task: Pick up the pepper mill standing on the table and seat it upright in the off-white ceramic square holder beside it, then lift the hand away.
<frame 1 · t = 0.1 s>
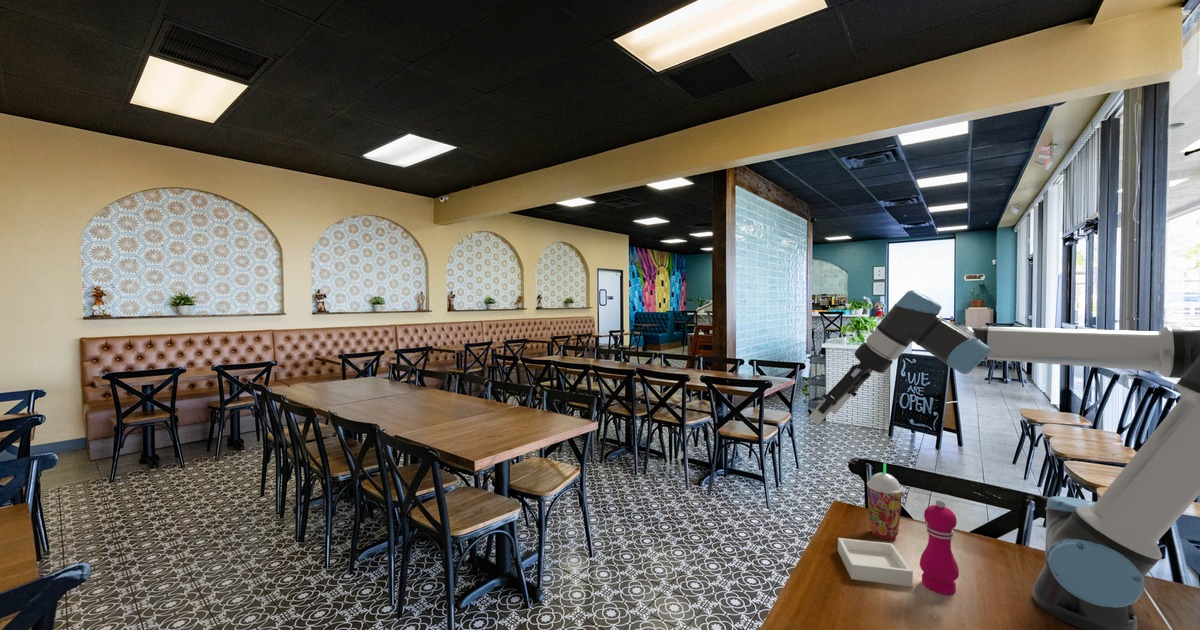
hand: (822, 415, 119), 36 cm above the table, tool tilted 35°, fingers open, 13 cm apart
smoothie: (883, 536, 131), on the table
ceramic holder: (872, 567, 115), on the table
pepper mill: (938, 587, 107), on the table
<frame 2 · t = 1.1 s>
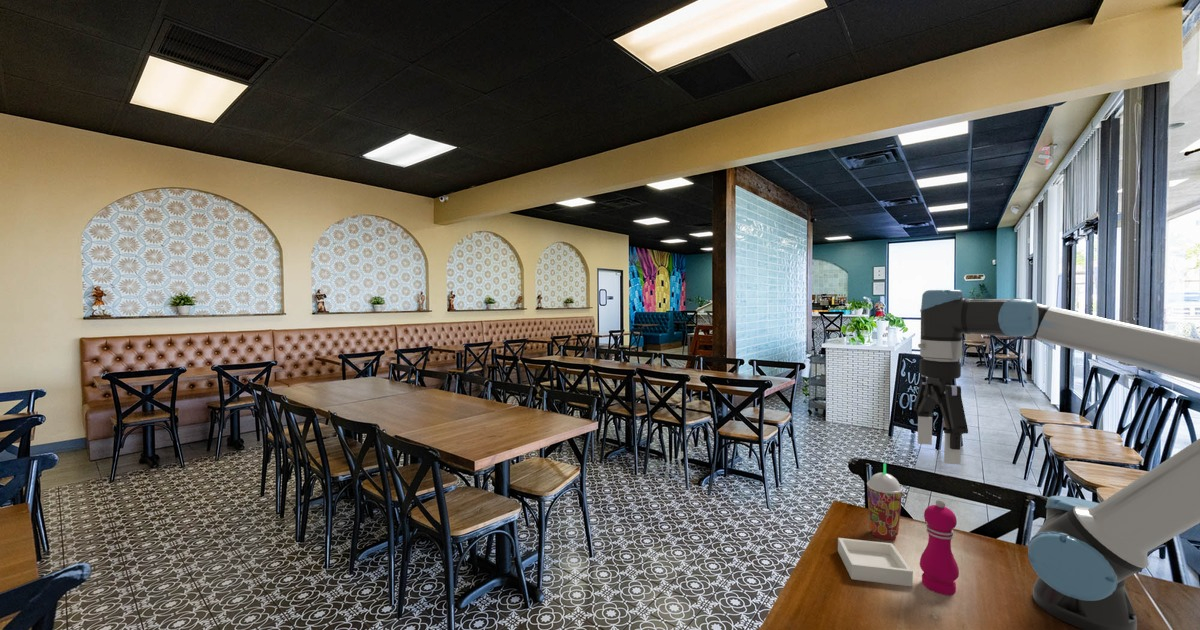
hand: (937, 453, 107), 30 cm above the table, tool pointing down, fingers open, 13 cm apart
nothing on the table moved.
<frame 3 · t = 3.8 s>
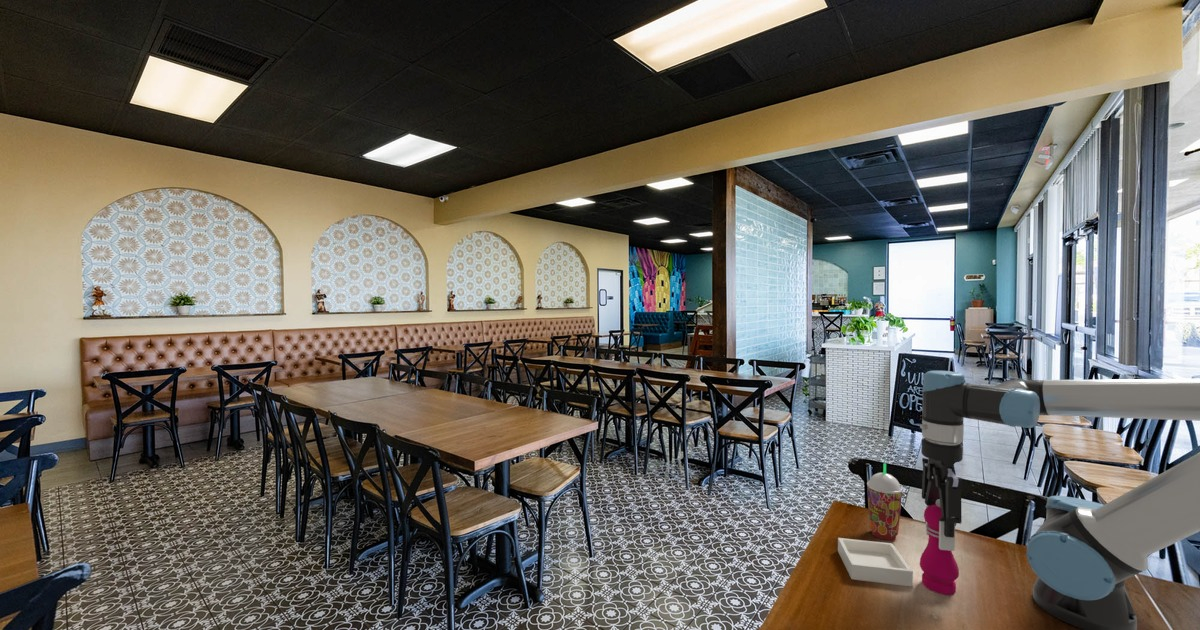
hand: (939, 541, 107), 10 cm above the table, tool pointing down, fingers closed on pepper mill, 6 cm apart
pepper mill: (938, 587, 107), on the table, touching gripper
everything else where it was.
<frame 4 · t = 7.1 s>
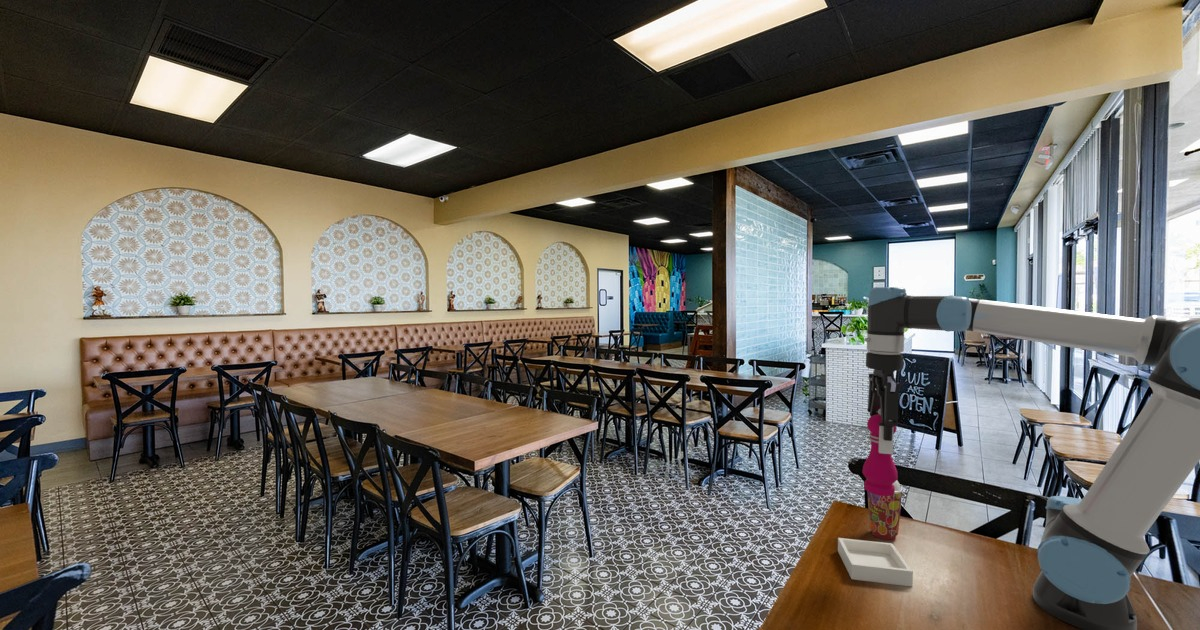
hand: (880, 448, 113), 29 cm above the table, tool pointing down, fingers closed on pepper mill, 6 cm apart
pepper mill: (879, 491, 114), point 19 cm above the table, touching gripper
everything else where it was.
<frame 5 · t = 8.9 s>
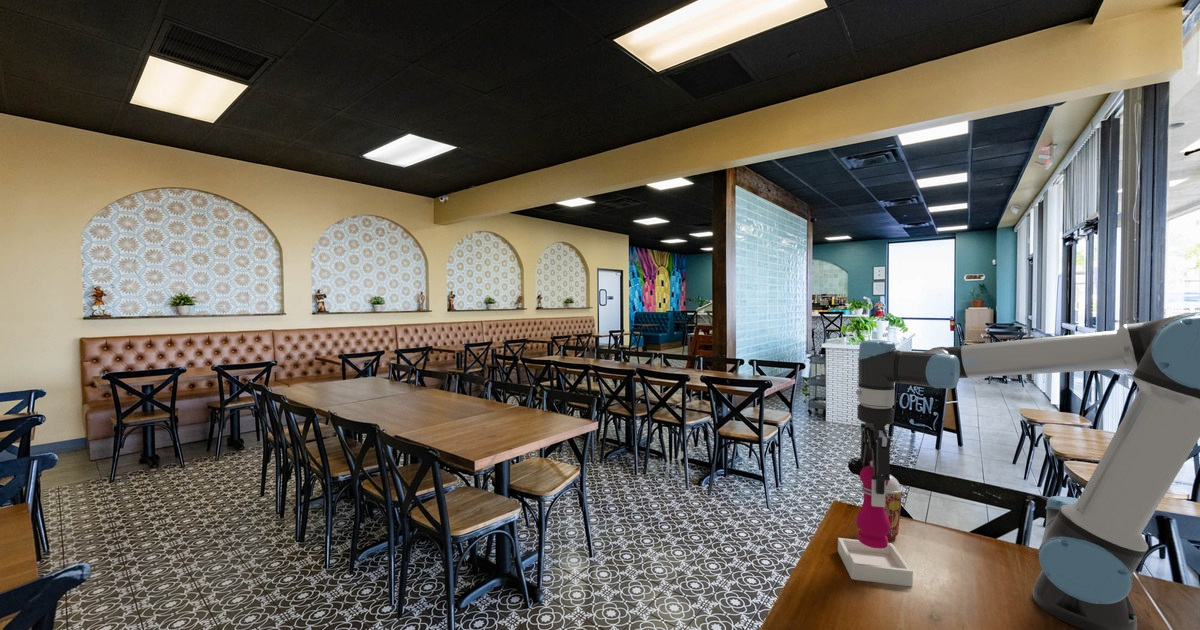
hand: (873, 499, 115), 17 cm above the table, tool pointing down, fingers closed on pepper mill, 6 cm apart
pepper mill: (872, 542, 115), point 6 cm above the table, touching gripper
everything else where it was.
when the fingers open (12 cm above the table, at t = 10.6 s): pepper mill stays where it is, resting on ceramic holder.
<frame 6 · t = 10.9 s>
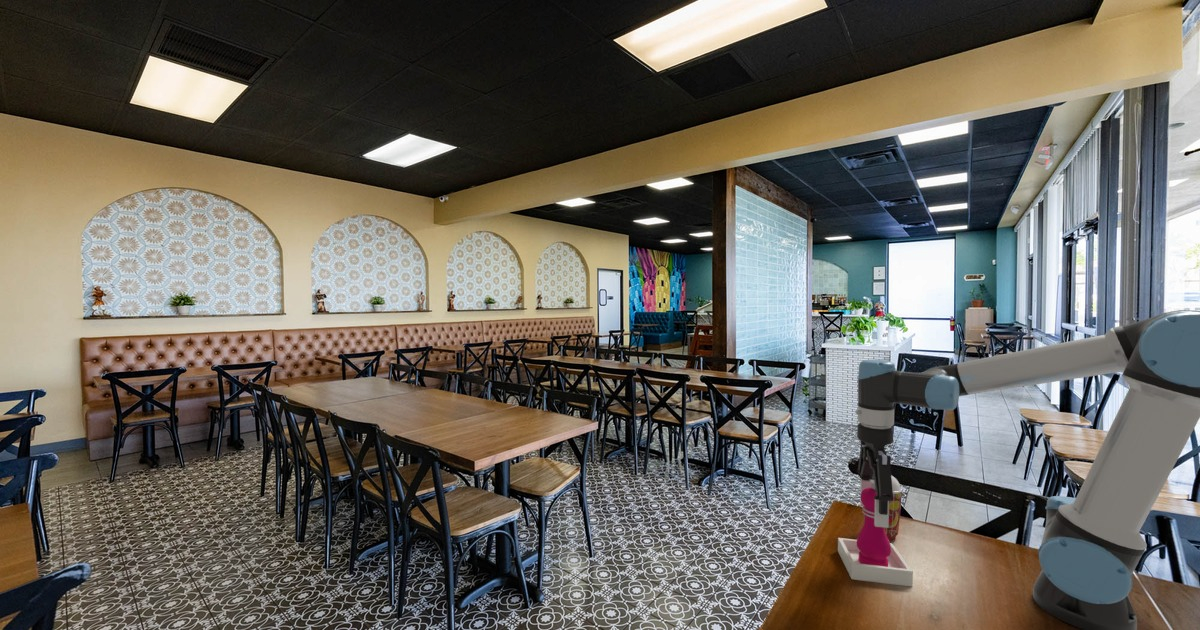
hand: (873, 515, 115), 13 cm above the table, tool pointing down, fingers open, 10 cm apart
pepper mill: (873, 564, 115), point 1 cm above the table, touching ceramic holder
everything else where it was.
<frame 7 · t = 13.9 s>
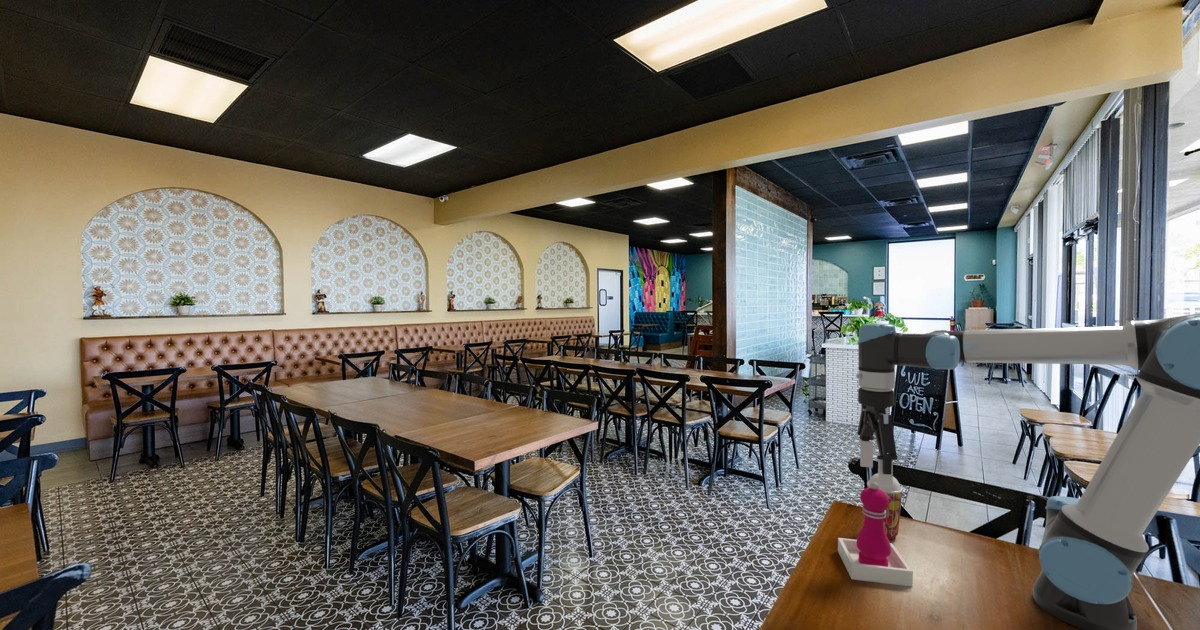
hand: (875, 476, 114), 22 cm above the table, tool pointing down, fingers open, 13 cm apart
nothing on the table moved.
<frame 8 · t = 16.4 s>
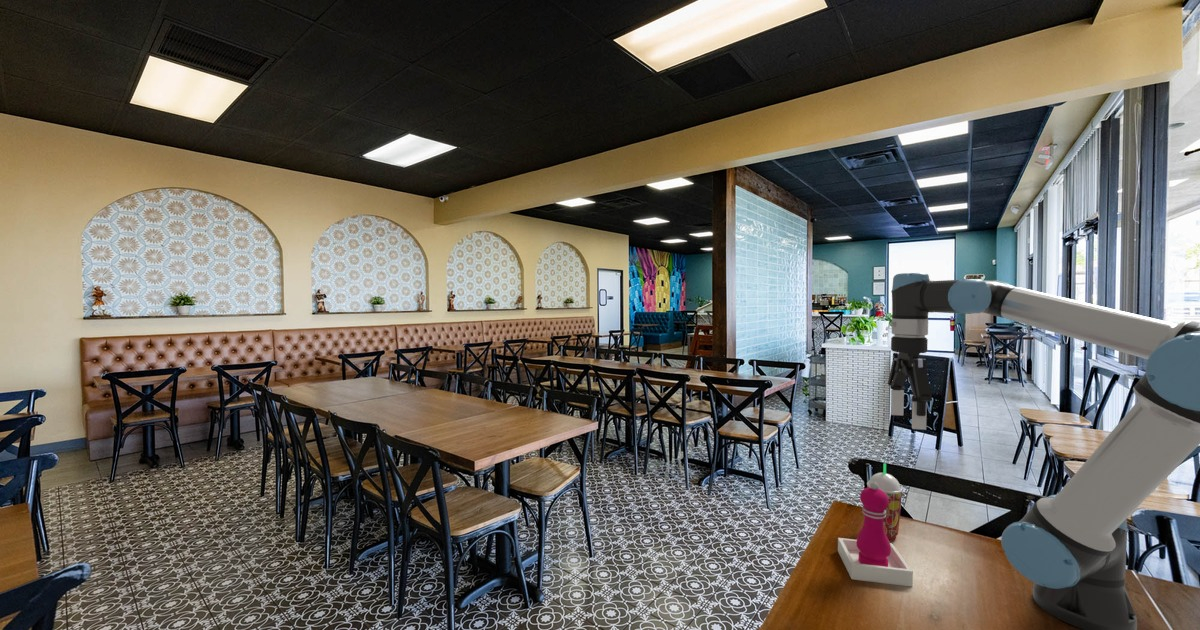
hand: (907, 421, 118), 35 cm above the table, tool pointing down, fingers open, 13 cm apart
nothing on the table moved.
at the end: pepper mill 0.1 cm off-centre on the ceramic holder, point 0.8 cm above the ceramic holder's base; pepper mill tilted 0°; the gripper is holding nothing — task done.
